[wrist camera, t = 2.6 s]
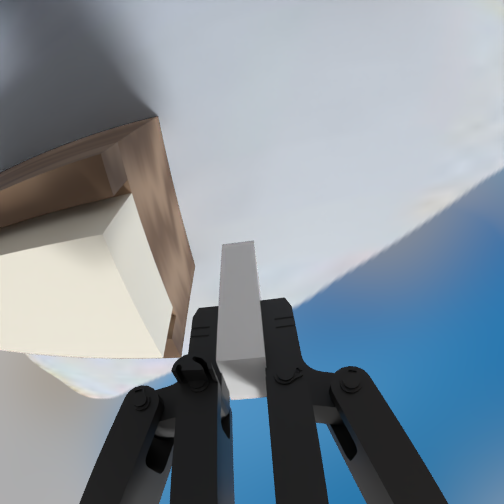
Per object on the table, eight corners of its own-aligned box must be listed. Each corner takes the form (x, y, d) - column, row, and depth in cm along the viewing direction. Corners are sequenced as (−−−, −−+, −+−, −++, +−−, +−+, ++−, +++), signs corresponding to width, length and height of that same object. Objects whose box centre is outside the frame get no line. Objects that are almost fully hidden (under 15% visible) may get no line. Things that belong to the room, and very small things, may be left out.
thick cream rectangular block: (-42, 243, 14) (-68, 273, 11) (131, 193, 14) (102, 234, 10) (1, 315, 19) (-17, 347, 16) (172, 307, 18) (163, 357, 15)
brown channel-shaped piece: (-3, 174, 19) (-69, 227, 11) (158, 116, 19) (100, 153, 11) (46, 283, 27) (8, 351, 19) (195, 266, 26) (181, 357, 18)
